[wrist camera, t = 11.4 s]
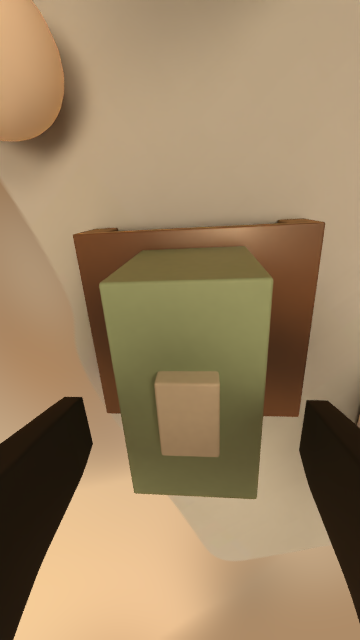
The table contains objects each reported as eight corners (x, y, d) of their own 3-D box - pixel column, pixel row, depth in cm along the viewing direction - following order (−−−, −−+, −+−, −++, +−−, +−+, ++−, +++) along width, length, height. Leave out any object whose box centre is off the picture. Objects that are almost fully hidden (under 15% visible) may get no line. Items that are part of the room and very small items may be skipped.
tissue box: (240, 401, 17) (260, 518, 10) (157, 400, 17) (129, 511, 11) (246, 245, 13) (280, 284, 7) (141, 250, 14) (87, 290, 8)
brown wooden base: (285, 386, 19) (298, 417, 17) (120, 385, 21) (106, 413, 18) (304, 218, 15) (326, 222, 12) (94, 228, 16) (72, 234, 14)
